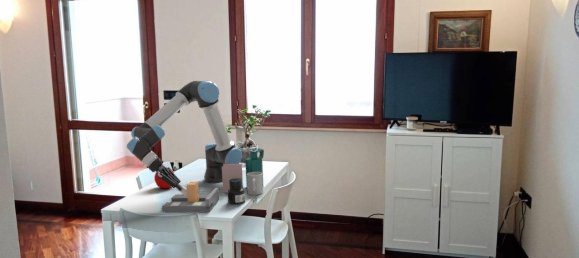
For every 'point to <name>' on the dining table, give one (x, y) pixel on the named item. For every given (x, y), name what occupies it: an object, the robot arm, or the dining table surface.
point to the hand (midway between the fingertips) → (186, 193)
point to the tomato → (161, 182)
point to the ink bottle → (236, 191)
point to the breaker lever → (193, 192)
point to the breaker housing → (192, 203)
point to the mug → (254, 183)
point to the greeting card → (231, 174)
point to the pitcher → (254, 162)
